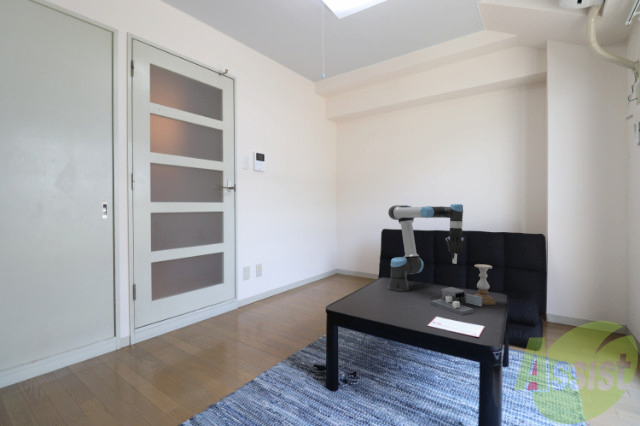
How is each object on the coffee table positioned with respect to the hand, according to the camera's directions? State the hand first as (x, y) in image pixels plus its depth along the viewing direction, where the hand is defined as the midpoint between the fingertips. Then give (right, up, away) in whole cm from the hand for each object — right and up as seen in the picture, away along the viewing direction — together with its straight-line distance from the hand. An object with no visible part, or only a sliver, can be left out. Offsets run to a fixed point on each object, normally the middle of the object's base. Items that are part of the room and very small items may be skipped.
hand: (454, 263), depth 188 cm
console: (-8, -25, -13) cm, 29 cm away
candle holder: (+19, -26, 0) cm, 32 cm away
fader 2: (-7, -23, -18) cm, 30 cm away
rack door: (+9, -25, -7) cm, 27 cm away
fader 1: (-7, -23, -8) cm, 25 cm away
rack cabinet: (-2, -25, -1) cm, 25 cm away
